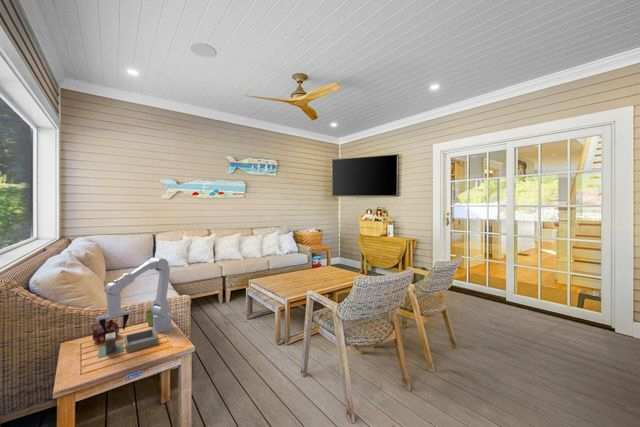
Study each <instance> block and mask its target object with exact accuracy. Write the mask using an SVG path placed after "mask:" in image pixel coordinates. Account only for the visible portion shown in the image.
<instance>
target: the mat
mask: <svg viewBox="0 0 640 427" xmlns="http://www.w3.org/2000/svg"><path fill="white" fill-rule="evenodd" d="M121 353H124V346H123V342H121V341H120V342H118V343H117V342H116V352H114V353H111V354H107V355H106V345H105V346H102V347H98V353H97V354H98V356H97V358H98V359H100V358H105V357H108V356H112V355H116V354H121Z"/></svg>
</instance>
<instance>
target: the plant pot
mask: <svg viewBox="0 0 640 427" xmlns="http://www.w3.org/2000/svg"><path fill="white" fill-rule="evenodd" d="M144 314H145V316H146V319H147V324H148V326H149V327H153V314H152V313H151V308H150V309H148V310H146V311H144Z"/></svg>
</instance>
